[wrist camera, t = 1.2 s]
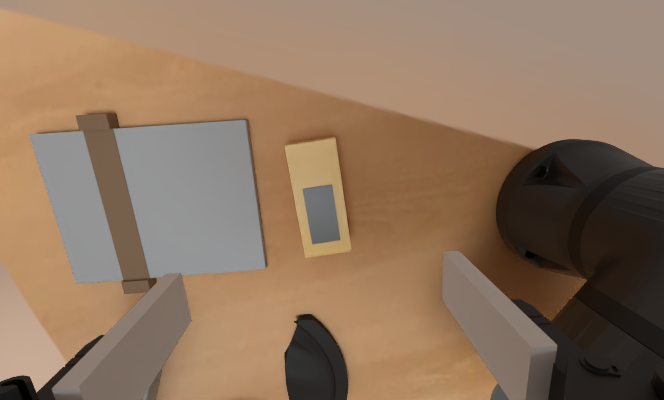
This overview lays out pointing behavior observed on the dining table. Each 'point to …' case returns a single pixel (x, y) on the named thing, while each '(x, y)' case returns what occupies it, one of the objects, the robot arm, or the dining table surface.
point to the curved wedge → (314, 363)
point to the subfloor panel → (153, 199)
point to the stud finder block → (318, 196)
